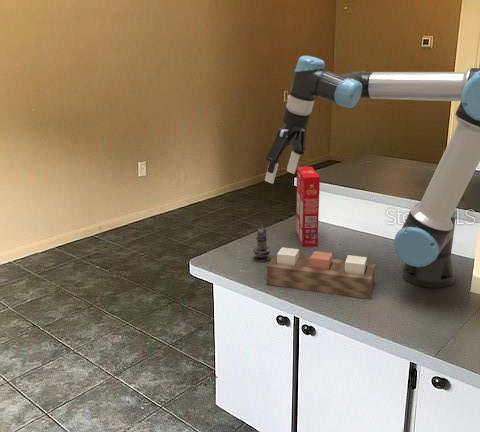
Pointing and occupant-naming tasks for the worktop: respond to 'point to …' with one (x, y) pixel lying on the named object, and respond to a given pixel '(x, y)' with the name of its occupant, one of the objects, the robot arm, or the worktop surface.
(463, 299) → the worktop surface
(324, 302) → the worktop surface
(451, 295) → the worktop surface
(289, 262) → the far button
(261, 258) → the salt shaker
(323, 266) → the middle button
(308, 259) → the mount
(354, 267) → the near button
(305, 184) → the food packaging
